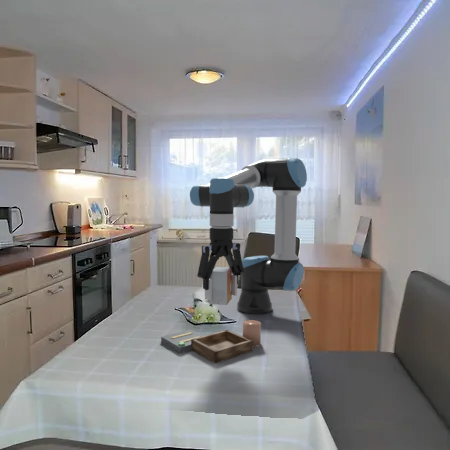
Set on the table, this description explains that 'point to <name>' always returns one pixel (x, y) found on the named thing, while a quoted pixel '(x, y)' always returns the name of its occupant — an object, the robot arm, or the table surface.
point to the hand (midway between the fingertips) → (221, 297)
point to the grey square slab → (180, 340)
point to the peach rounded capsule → (252, 331)
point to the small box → (221, 285)
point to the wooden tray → (221, 345)
